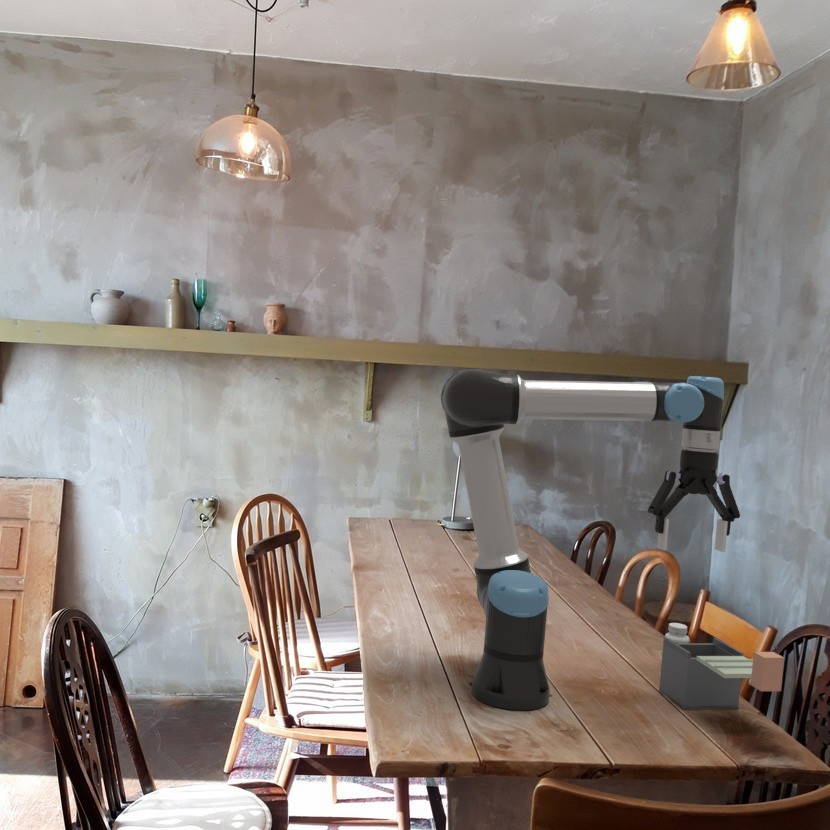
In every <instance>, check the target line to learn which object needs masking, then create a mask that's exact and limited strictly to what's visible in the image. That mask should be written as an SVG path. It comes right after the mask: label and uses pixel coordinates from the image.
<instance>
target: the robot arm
mask: <svg viewBox="0 0 830 830" xmlns="http://www.w3.org/2000/svg"><path fill="white" fill-rule="evenodd" d="M724 396H725V383H724V380H722V379H721V378H720V377H713V376H698V375H695V376H693V375H691V376H688V377H687V380H686V382H653V381H652V382H651V381H634V382H633V381H632V382H631V381H627V382H626V381H594V380H593V381H589V380H587V381H586V380H585V381H584V380H583V381H582V380H580V381H579V380H535V379H531V380H529V379H523V378H522V377H521V376H520V375H519V374H509V373H508V374H505V373H504V374H503V373H499V372H492V371H487V370H483V369H478V368H468V369H465V368H464V369H462V370H459V371H456V372H455V373H453V374H451V376H450V377H448V378H447V380H446V381H445V383H444V385H443V386H442V390H441V393H440V401H441V406H442V409H443V411H444V413H445V420H446V425H447V430H448V435H449V439H450V440H452V441H453V442H454V443H456V444H457V445H458V450H459V455H460V460H461V465H462V471H463V476H464V482H465V487H466V492H467V499H468V502H469V508H470V509H469V510H470V514H471V519H472V524H473V531H474V534H475V540H476V546H477V551H478V556H477V558H476V559H475V560H474V562H473V569H474V574H475V578H476V587H477V588H476V595H477V598H478V601H479V603H480V606H481V608H482V609H483V612H484V615H485V627H484V628H485V630H484V642H483V643H484V644H483V651H482V652H483V653H482V656H481V657H480V660H479V662H478V665H477V667H476V670H475V673H474V675H473V677H472V679H471V694H472V696H474V698H475V699H477V700H478V701H480V702H481V703H483V704H486V705H489V706H492V707H495V708H498V709H499V708H500V709H505V710H513V711H531V710H536V709H541V708H543V707H545V706H547V705H548V703H549V701H550V690H551V689H550V684H549V681H548V676H547V672H546V671H547V670H546V668H545V664H544V663H545V662H544V650H545V642H546V641H545V639H546V629H547V628H546V626H547V617H548V616H547V615H548V605H549V603H550V597H549V587H548V584H547V582H546V581H545V579H543V578H542V577H540V576H538V575H534V573H532V571H531V566H530V562H529V561H530V560H529V555H528V553H527V552H525V551H523V550H522V549H521V548H520V546H519V541H518V540H519V539H518V534H517V530H516V529H517V528H516V525H515V519H514V514H513V508H512V504H511V497H510V496H511V495H510V491H509V486H508V481H507V480H508V479H507V476H506V470H505V465H504V459H503V454H502V449H501V443H500V436H501V434H502V432H503V431H504V429H505V425H519V423H520V422H522V421H523V420H559V421H560V420H561V421H562V420H563V421H565V420H567V421H568V420H569V421H570V420H571V421H573V420H574V421H575V420H576V421H627V422H628V421H629V422H630V421H634V422H636V421H637V422H638V421H639V422H640V421H641V422H669V423H670V422H672V423H677V424H682V434H681V435H682V436H681V444H680V445H681V447H682V448H683V449H681V451H680V457H679V468H680V469H679V472H676V471H671V470H665V472H664V479H663V481H662V483H661V485H660V487H659V489H658V490H657V492H656V494H655V495H654V498H653V499H652V501H651V503H650V505H649V507H648V508H647V513H649V514H651V515H652V516H655V527H654V532H655V533H657V543H656V548H658V549H660V550H663V551H667V549H668V538H669V529H670V528H669V527H670V518H666V517H668V515H669V514H670V513H671V512H672V511H673V510H674V509H675V508H676V506H677V505H678V504H679V503H680V501H682V500H683V499H684V497H686V496H687V495H705V496H706V497H707V498H708V500H709V501H710V503H711V505H712V506H713V508H714V509H715V510H716V512H717V513H718V515H719V517H720V518H721V519H720V518H718V519H717V520H716V529H715V542H714V543H715V544H714V550H716V551H719V552H722V553H725V552H726V545H727V544H726V543H727V537H728V536H730V534H731V533H730V532H731V523H732V522H734V521H735V520H736V519H740V517H741V512H740V511H739V507H738V505H737V503H736V498H735V496H734V493H733V490H732V488H731V478H730V475H729V474H726V473H722V472H721V473H719V474H717V469H718V462H719V454H718V452H716V451H717V450H719V449H720V440H721V439H720V437H721V429H722V427H721V426H722V425H721V424H722V416H723V409H724V401H725V397H724ZM677 481H678V482H679V484H678V485H677V486H676V487H675V488H674V486H675V483H676V482H677ZM715 484H718V489H719V492H720V494H721V496H722V498H720V496H719V495H718V491H717V490H716V489H715ZM673 488H674V491H673V492H672V490H673ZM671 492H672V493H671ZM670 493H671V494H670ZM669 495H670V496H669ZM722 499H723V500H722Z"/></svg>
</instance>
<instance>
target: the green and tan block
mask: <svg viewBox="0 0 830 830" xmlns="http://www.w3.org/2000/svg"><path fill="white" fill-rule="evenodd" d="M696 660H697V661H699V662H700V663H702V664H703V665H705V666H706V667H708V668H710V669H711V670H713V671H714V672H716V673H717V674H719V675H720V676H722V677H724V678H741V679H748V685H750V686H751V687H753V688H754V689H756V690H758V691H760V692H782V687H783V686H782V685H783V675H784V674H783V672H784V665H785V664H784V662H785V657H784V656H782V655H780V654H778V653H776V652H775V651H753V655H752V658H747V657H745V656H744V655H743V656H697V659H696Z"/></svg>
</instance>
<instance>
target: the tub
mask: <svg viewBox="0 0 830 830" xmlns="http://www.w3.org/2000/svg"><path fill="white" fill-rule="evenodd" d="M661 653H662V656H661V664H660V665H661V666H660V675H659V678H660V679H659V690H658V691H659V692H660V693H661V694H662V695H664V696H665V697H666V698H667V699H669V700H670V701H672V702H673V703H674V704H676V705H677V706H679V707H680V708H681V709H682V710H732V709H733V710H734V709H735V710H736V709H737V710H738V709H739V703H740V692H741V681H742V678H724V677H722V676H720V675H719V674H717V673H716V672H714V671H713V670H711V669H710V668H708V667H706V666H705V665H703V664H702V663H700V662H699V661H697V660H696V659H697V656H744V652H742V651H741V650H739V649H737V648H735V647H733V646H731V645H730V644H728V643H726V642H725V641H722V640H721V639H719V638H717V637H713V641H712V643H711V642H709V643H708V642H707V643H706V642H705V643H704V642H703V643H701V642H700V643H691V642H690V643H674V642H673V641H671V640H670V639H668V638H667V637H665V636H664V637H663V644H662V652H661Z"/></svg>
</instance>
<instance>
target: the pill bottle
mask: <svg viewBox="0 0 830 830" xmlns="http://www.w3.org/2000/svg"><path fill="white" fill-rule="evenodd" d="M667 629H668V631H669V632H667V633H665V635H664V637H667V638H668V639H670V640H671V641H673V642H674V643H691V641H690V640H691V639H690V637H689V636H688V635H687V633H688V626H687V625H686V624H683V623H679V622H671V623H668V628H667Z"/></svg>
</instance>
